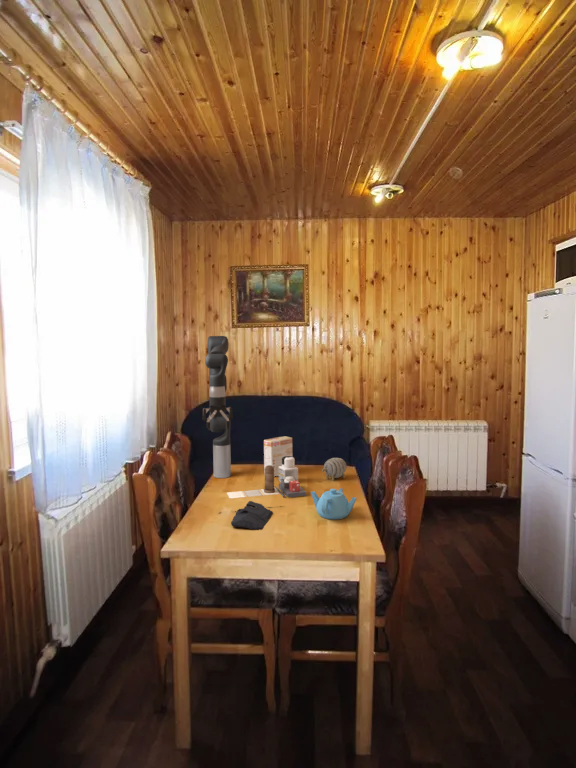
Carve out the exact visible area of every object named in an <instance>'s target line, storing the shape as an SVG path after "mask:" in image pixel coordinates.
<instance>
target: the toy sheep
mask: <svg viewBox="0 0 576 768" xmlns="http://www.w3.org/2000/svg"><path fill="white" fill-rule="evenodd" d="M347 467H348V465H347V462H346V461H345V460H344V459H343V458H341V457H332V458H329V459H327V460H326V461H325V462H324V465H323V468H322V469H321V471H322V472H324V473H325V474H326V475H325V479H326V480H329V479H330V478H331V481H332V482H334V481H335V479H340V477H341V478H342V479H345V477H346V476H345V472H346V470H347Z"/></svg>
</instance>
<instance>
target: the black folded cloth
mask: <svg viewBox="0 0 576 768" xmlns="http://www.w3.org/2000/svg"><path fill="white" fill-rule="evenodd" d="M273 514H274V511H273V510H270V509H268V508H266V507H265V506H264V505H263V504H262V503H258V502H254V501H253V500H249V501H248V502H247V503H246V504H245V506H244V508H238V509H237V510H236V512H235V515H234V516H233V518H232V520H231V521H230V525H231V526H232V527H236V528H245V529H251V530H257V531H259V529H260V530H263V529H264V528H265V526H266V525H267V524H268V522H269V520H270V519H271V517H272V515H273Z"/></svg>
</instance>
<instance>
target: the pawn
mask: <svg viewBox="0 0 576 768" xmlns="http://www.w3.org/2000/svg"><path fill="white" fill-rule="evenodd" d="M274 486H275V477H274V468H273V466H271V465H268V466H266V467H265V475H264V492H265V493H274V492H275V489H276V488H275V487H274Z"/></svg>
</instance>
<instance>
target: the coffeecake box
mask: <svg viewBox="0 0 576 768" xmlns="http://www.w3.org/2000/svg"><path fill="white" fill-rule="evenodd" d="M263 454H264V455H263V466H264V467H263V468H264V471H263V472H264V473H263V474H264V476H265V467H266V466H268V465H271V466H273V468H274V478H275V476H276V477H279V466H282V458H283V457H285V456H292V457H293V437H290V436H285V435H284V436H278V437H272V438H267V439H264V440H263Z"/></svg>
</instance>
